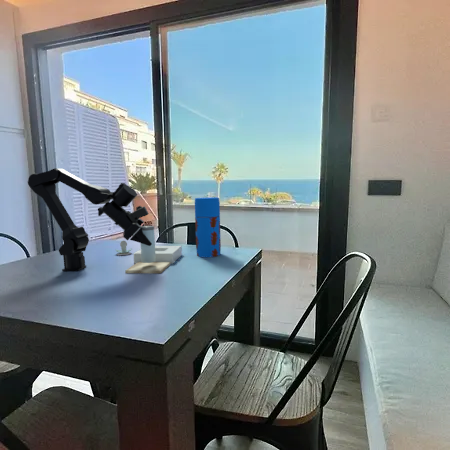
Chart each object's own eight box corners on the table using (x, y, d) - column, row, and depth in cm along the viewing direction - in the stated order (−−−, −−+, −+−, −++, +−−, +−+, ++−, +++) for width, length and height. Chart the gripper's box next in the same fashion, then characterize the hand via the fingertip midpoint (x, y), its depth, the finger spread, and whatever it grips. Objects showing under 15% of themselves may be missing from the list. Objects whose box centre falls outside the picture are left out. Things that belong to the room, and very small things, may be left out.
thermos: (193, 253, 147) (191, 198, 144) (214, 251, 152) (213, 197, 148) (201, 258, 137) (199, 198, 134) (224, 255, 142) (223, 197, 139)
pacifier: (132, 255, 148) (132, 252, 153) (131, 242, 147) (131, 239, 152) (115, 256, 146) (116, 253, 152) (114, 243, 145) (115, 240, 151)
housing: (133, 263, 131) (133, 253, 131) (147, 254, 147) (146, 245, 147) (172, 263, 130) (172, 253, 129) (182, 254, 146) (181, 245, 145)
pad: (125, 273, 117) (125, 270, 117) (138, 264, 130) (138, 261, 130) (161, 273, 116) (160, 270, 116) (170, 264, 128) (170, 261, 128)
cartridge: (139, 262, 120) (137, 227, 118) (144, 259, 125) (142, 225, 124) (153, 262, 120) (151, 227, 118) (157, 259, 125) (155, 225, 123)
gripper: (131, 200, 110) (166, 231, 113) (136, 198, 128) (166, 224, 131) (108, 224, 109) (143, 255, 113) (117, 218, 128) (147, 245, 131)
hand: (151, 243), depth 122 cm, fingers closed on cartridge, 5 cm apart
